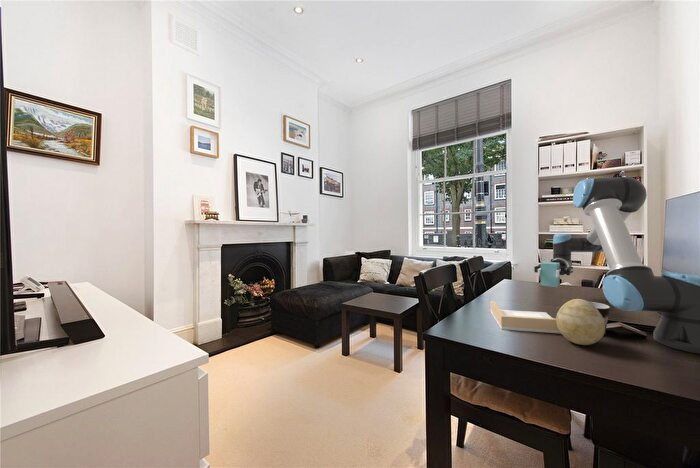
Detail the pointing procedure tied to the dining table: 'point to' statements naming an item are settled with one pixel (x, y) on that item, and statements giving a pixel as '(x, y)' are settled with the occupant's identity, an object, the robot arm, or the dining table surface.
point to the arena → (524, 320)
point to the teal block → (550, 274)
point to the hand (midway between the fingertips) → (547, 273)
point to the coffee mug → (602, 311)
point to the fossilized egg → (580, 322)
